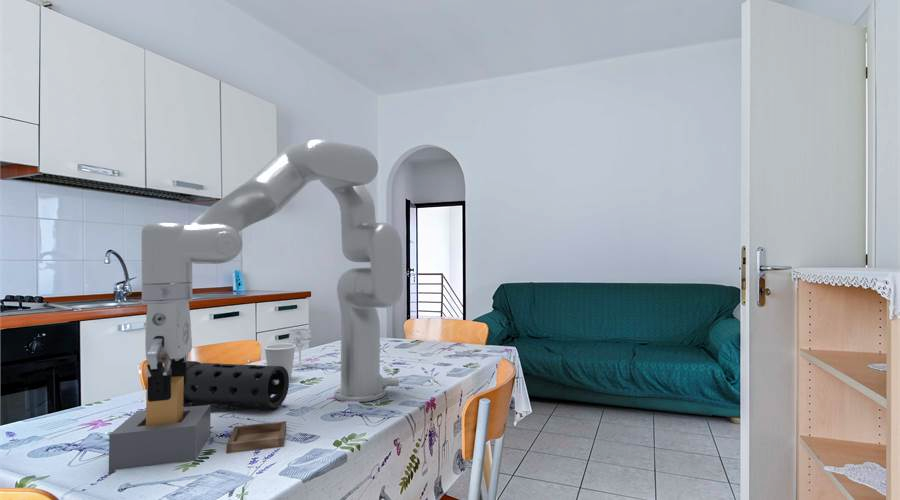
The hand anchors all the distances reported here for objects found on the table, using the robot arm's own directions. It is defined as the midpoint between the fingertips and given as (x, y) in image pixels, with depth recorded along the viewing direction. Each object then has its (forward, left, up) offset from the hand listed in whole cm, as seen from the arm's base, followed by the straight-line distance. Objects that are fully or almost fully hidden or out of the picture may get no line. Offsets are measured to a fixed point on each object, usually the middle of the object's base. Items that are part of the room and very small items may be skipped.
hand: (168, 392), depth 79 cm
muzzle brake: (-5, -25, -11) cm, 27 cm away
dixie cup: (-16, -46, -11) cm, 49 cm away
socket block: (0, 0, -10) cm, 10 cm away
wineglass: (-21, -62, -11) cm, 66 cm away
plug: (0, 0, -8) cm, 8 cm away
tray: (-15, 0, -10) cm, 18 cm away
